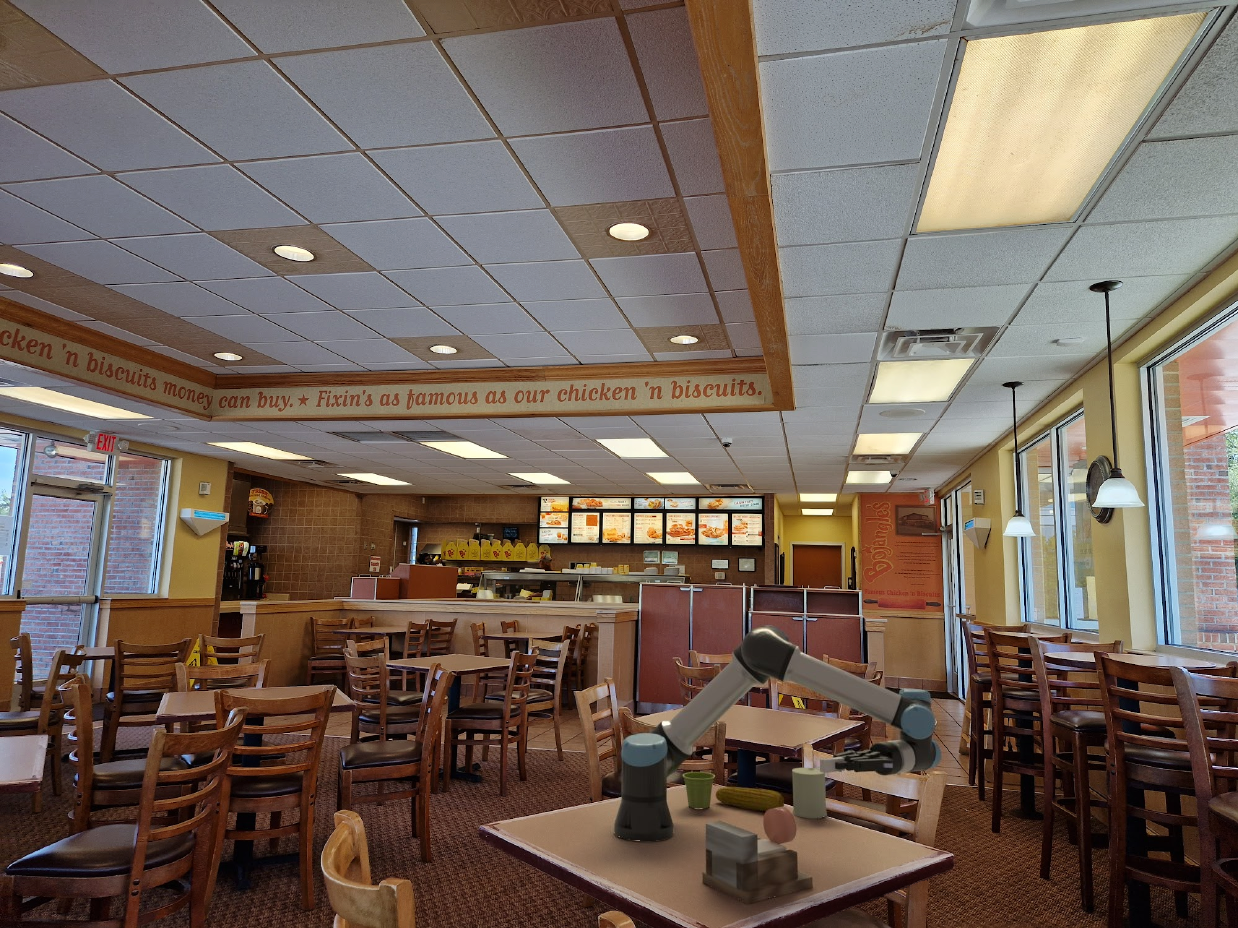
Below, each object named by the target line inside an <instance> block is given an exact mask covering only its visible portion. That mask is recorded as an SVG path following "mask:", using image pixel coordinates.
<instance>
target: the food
mask: <svg viewBox="0 0 1238 928" xmlns="http://www.w3.org/2000/svg"><path fill="white" fill-rule="evenodd" d="M715 798H716V800H717V801H719V802H721V803H722V804H725V805H728V806H732V805H733V807H735V806H738V808H740V807H741V809H745V808H746V810H753V811H757V812H758V811H759V812H765V813H766V811H767V810H769V809H773V808H778V807H785V803H784V802H785V801H784V800H785V799H784V796H782V794H781V793H779V792H778V791H774V790H770V789H763V788H761V789H759V788H749V787H741V786H740V787H739V786H738V787H737V786H725V787H724V786H723V787H720V788H718V789H717V790H716V792H715Z"/></svg>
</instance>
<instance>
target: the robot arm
mask: <svg viewBox="0 0 1238 928" xmlns="http://www.w3.org/2000/svg"><path fill="white" fill-rule="evenodd" d="M731 652H732V653H731V654H732V655H731V656H732V657H731V658H732V659H731V661H730V662H729V663H728V664H727V665H726V666H725V667H724V668H723V669H722V670H721V671H720V672H718V674H717V675H716V676H715V677H713V679H712V680H710V682H709V683H708V684H706V686H705V687H703V689H702V690H700V691H699V693H697V695H695V696H694V697H693V698H692V699H691V700H690V701H689V702H687V704H686V705H685V706H684V707H683V708H682V709H681V710H680V711H679V712H678V713H676V715H675V716H674V717H673V718H672V719H670V720H668V719H663V720H662V721H660V722H659V724H657V726H656V727H655V728H653V729H652V730H651V731H650V732H649V733H647V732H644V733H643V732H642V733H637V734H630V735H629V736H627V737H625V738H624V740H623V741H622V744H621V751H620V757H621V787H620V788H621V789H620V790H621V793H620V794H621V797H620V799H621V800H620V804H619V807H618V811H617V814H616V817H615V821H614V823H613V825H614V826H613V833H614V832H615V834H616V835H617V836H616V835H615V834H614V835H615V836H616V837H618V836H620V837H622V838H624V839H623V840H626V839H630V840H629V841H631V840H640V841H639V842H641V841H651V842H657V841H656V840H660V841H664V839H665V840H667V839H670V838H672V837H673V836H674V832H675V831H674V822H673V819H672V815H671V812H670V808H669V805H668V801H667V798H668V797H667V793H668V792H667V791H668V788H667V787H668V786H667V784H668V777H669V776H671V775H672V774H674V773H675V772H677V770H678V769H679V768H680V766H681V765H682V764H683V763H684V762H685V761H686V760H687V759H689V757H690V756H691V755H693V751H694V747H693V746H694V744H695V743H696V742H697V741H699V740H700V738H702V737H703V736H704V735H705V734H706V732H708V731H709V730H710V729H711V728H712V727H713V726H714V725H715V724H716V723H717V722H718V721H719V720H720V719H721V718H723V716H724V715H725V714H726V713H727V712H729V710H730V709H731V708H732V707H733V706H734V705H736V703H738V702H739V700H741V699H742V697H744V696H745V695H746V694H747V693H748V692H749V691H750V690H751V689H752V688H753V687H754V686H755V685H756V686H757V685H759V686H760V685H761V686H764V684H766V683H767V682H768V680H770V679H772V678H773V679H775V680H778V681H780V682H782V683H787V682H793V683H795V684H797V685H799V686H801V687H804V688H806V689H808V690H810V691H813V692H815V693H817V694H819V695H821V696H824V697H827V698H829V699H831V700H832V701H835V702H837V703H839V704H842V705H844V706H846V707H849V708H851V709H854V710H856V711H858V712H860V713H862V714H865V715H867V716H869V717H872V718H873V719H876V720H878V721H881V722H882V723H885V724H887V725H888V726H889V725H890V726H892V727H893V728H895V729H898V730H899V739H895V740H887V741H878V742H875V743H874V744H872V745H871V747H870V748H869V749H864V750H862V751H854V750H853V749H848V750H847V751H843V752H839V753H835V754H833V755H832V757H828V758H820V759H819V769H820V772H823V773H825V774H827V773H828V774H829V773H836V772H841V773H842V771H843V772H844V771H845V770H846V771H847V772H851V771H854V772H855V773H862V772H863V773H866V772H867V773H869V772H875V773H876V774H877V775H880V776H883V777H885V776H890V775H897V776H902V774H903V773H904V774H905V773H909V772H920V771H921V772H922V771H923V772H924V771H928V770H931V769H934V768H936V767H938V766H939V764H940V763H941V760H942V751H941V748H940V747H939V746H940V745H939V744H938V742H937V741H936V740H934V739H933V733H934V731H935V730H936V722H937V721H936V717H935V716H936V715H935V714H934V712H933V711H932V700H931V693H930V692H929V691H927V690H925V689H917V688H902V689H900V690H899V693H896V692H894V691H891V690H890V689H888V688H884V686H883V687H882V686H880V685H878V684H875V683H873V682H870V681H869V680H866V679H865V678H861V677H859V676H857V675H855V674H852V673H850V672H849V671H846V670H843V669H841V668H839V667H837V666H834V665H832V664H829V663H827V662H824V661H823V660H821V659H817V658H815V657H813V656H812V655H810V654H809V655H808V654H806V653H804V652H802V651H801V649H800V647H799V646H798V645H796V644H793V642H792V643H791V641H790V639H789V637H788V635H787V634H786V633H785V632H784V631H783V630H782V629H780V628H778V627H776V626H773V625H762V626H760V627H755V628H754V629H751V630H750V631H749V632H748V633H746V635H745V636H744V638H743V640H742V642H741V643H740V644H739V645H738V646H737V647H736V648H735V649H734V650H733V651H731ZM620 837H619V838H620ZM622 838H621V839H622Z"/></svg>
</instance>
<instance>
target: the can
mask: <svg viewBox="0 0 1238 928" xmlns="http://www.w3.org/2000/svg"><path fill="white" fill-rule="evenodd" d="M791 772H792V773H791V774H792V794H793V795H792V799H793V802H792V803H793V804H792V805H793V807H792V809H793V810H792V815H793V816H796V817H799V818H803V819H813V820H814V819H815V820H819V819H823V818H822V817H823V816H824V818H826V817H827V816H828V813H827V802H826V801H827V800H826V796H827V795H826V773H823V772H820V768H814V767H796V768H792V770H791ZM817 818H818V819H817Z"/></svg>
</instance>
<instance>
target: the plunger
mask: <svg viewBox="0 0 1238 928" xmlns="http://www.w3.org/2000/svg"><path fill="white" fill-rule="evenodd" d="M762 822H763V829H764V833H765V835H766V837H767V839H765V838H761V839H760V840H758V856H763V855H767V854H772V853H776V852H781V851H786V850H787V846H786V845H782V844H787V843H790V842H792V841H794V839H795V837H796V836H797V835H796V834H797V829H798V828H797V823H796V819H795V815H794V814H793V812H791V811H790V809H788V808H787V807H785V806H784V807H778V808H773V809H769V810H767V811H766V812H765V813H764V815H763V821H762Z"/></svg>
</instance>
